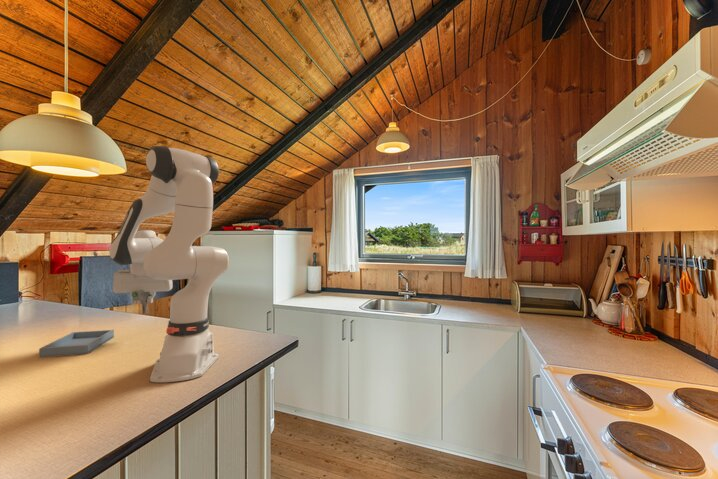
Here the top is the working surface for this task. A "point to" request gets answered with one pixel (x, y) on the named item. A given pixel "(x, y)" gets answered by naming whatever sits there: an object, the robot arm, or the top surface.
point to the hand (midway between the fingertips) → (143, 303)
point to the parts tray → (76, 343)
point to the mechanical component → (142, 299)
